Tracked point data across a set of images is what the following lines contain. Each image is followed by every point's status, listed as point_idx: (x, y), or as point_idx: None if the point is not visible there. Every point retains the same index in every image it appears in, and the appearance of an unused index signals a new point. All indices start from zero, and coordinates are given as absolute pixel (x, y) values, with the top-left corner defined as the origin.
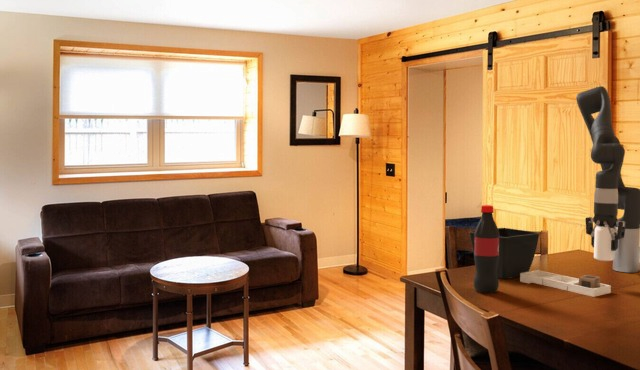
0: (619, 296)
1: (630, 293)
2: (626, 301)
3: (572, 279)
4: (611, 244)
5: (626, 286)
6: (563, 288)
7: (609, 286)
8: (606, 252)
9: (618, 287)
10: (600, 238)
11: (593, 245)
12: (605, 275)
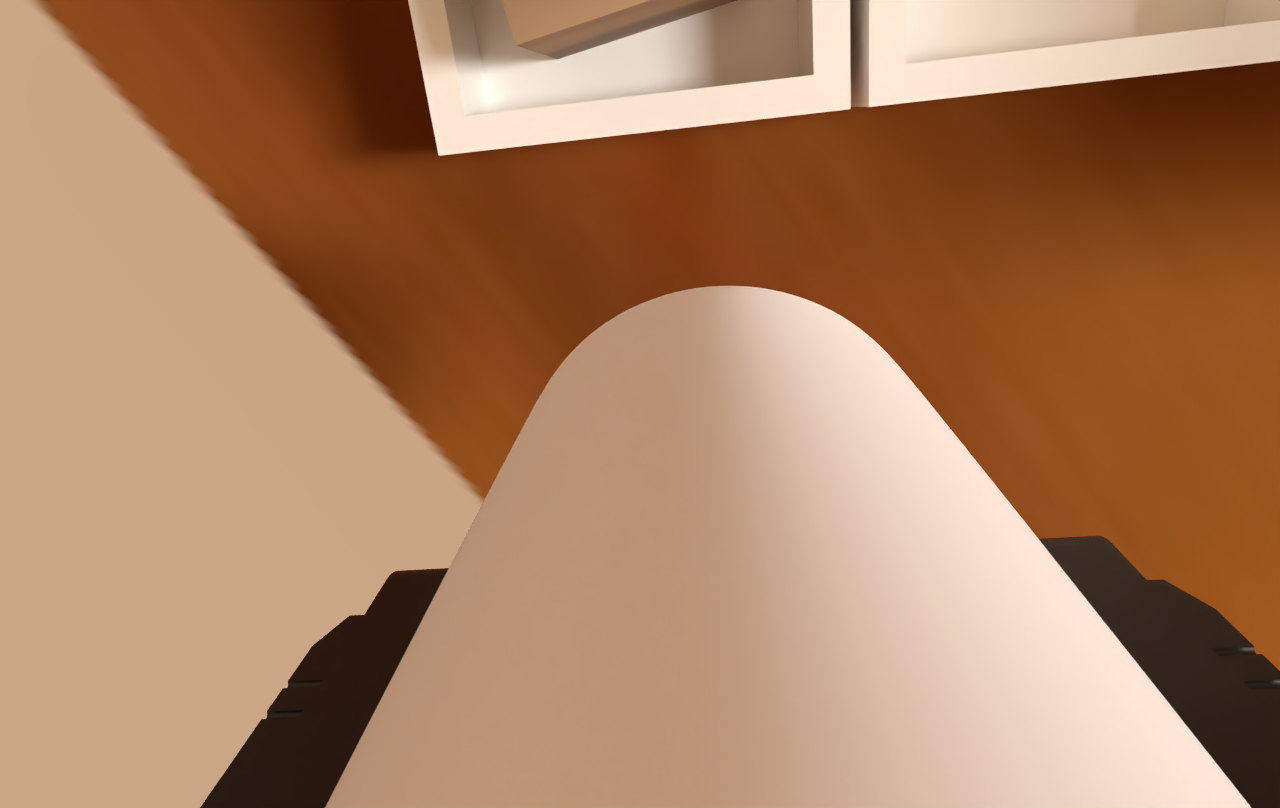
0: (387, 185)
1: (442, 405)
2: (181, 51)
3: (1047, 47)
4: (373, 682)
5: None
6: None
7: (432, 118)
8: (527, 435)
9: None
10: (645, 608)
11: (1078, 562)
12: None
